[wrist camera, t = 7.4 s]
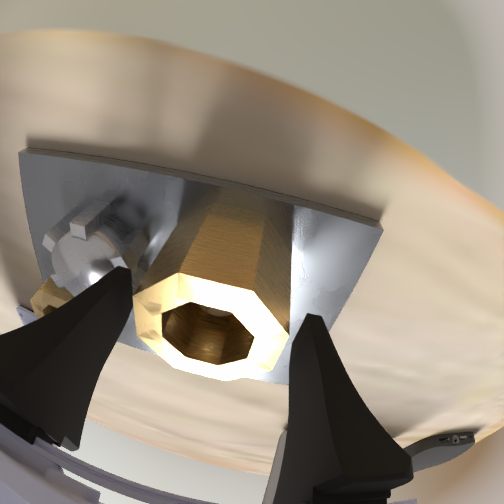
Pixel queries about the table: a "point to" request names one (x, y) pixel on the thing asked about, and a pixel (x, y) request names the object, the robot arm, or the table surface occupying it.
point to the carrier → (163, 223)
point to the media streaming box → (439, 449)
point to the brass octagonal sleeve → (218, 294)
